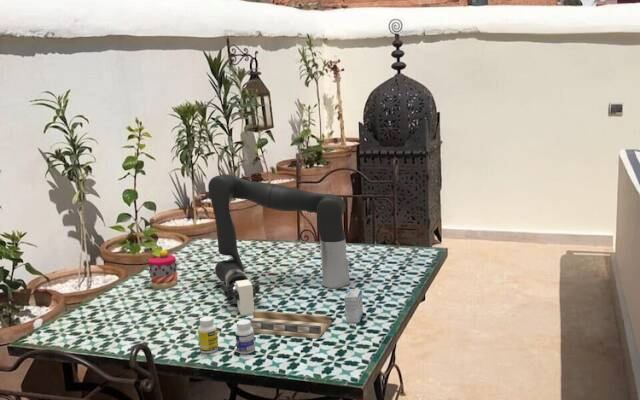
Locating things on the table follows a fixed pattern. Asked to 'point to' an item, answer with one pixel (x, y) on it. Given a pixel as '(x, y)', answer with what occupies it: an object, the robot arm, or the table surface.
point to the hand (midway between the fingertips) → (245, 296)
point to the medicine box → (353, 306)
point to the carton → (245, 297)
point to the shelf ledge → (289, 324)
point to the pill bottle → (244, 337)
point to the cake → (162, 269)
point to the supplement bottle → (207, 335)
